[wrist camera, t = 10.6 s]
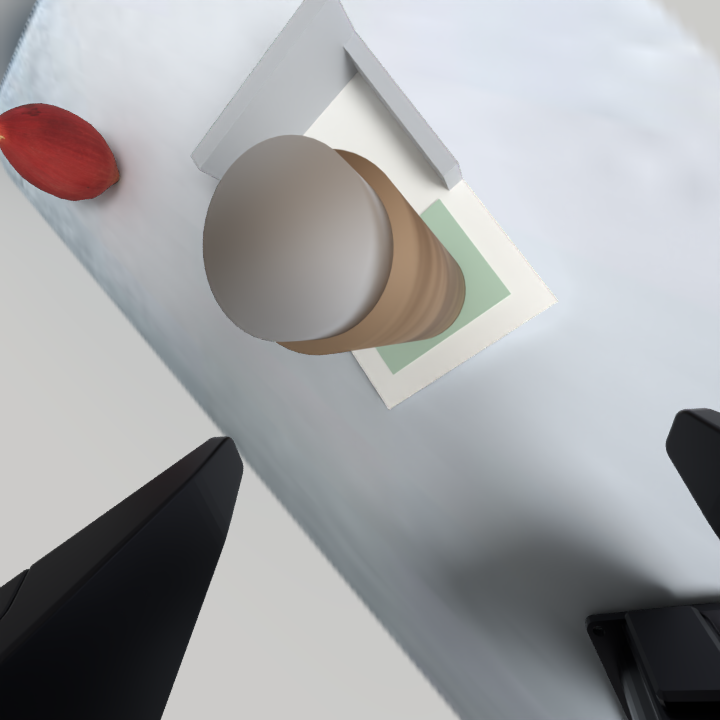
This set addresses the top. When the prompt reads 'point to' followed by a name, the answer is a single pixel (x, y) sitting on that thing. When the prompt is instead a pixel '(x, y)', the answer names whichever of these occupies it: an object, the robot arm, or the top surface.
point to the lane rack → (401, 165)
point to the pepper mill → (325, 252)
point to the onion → (57, 151)
